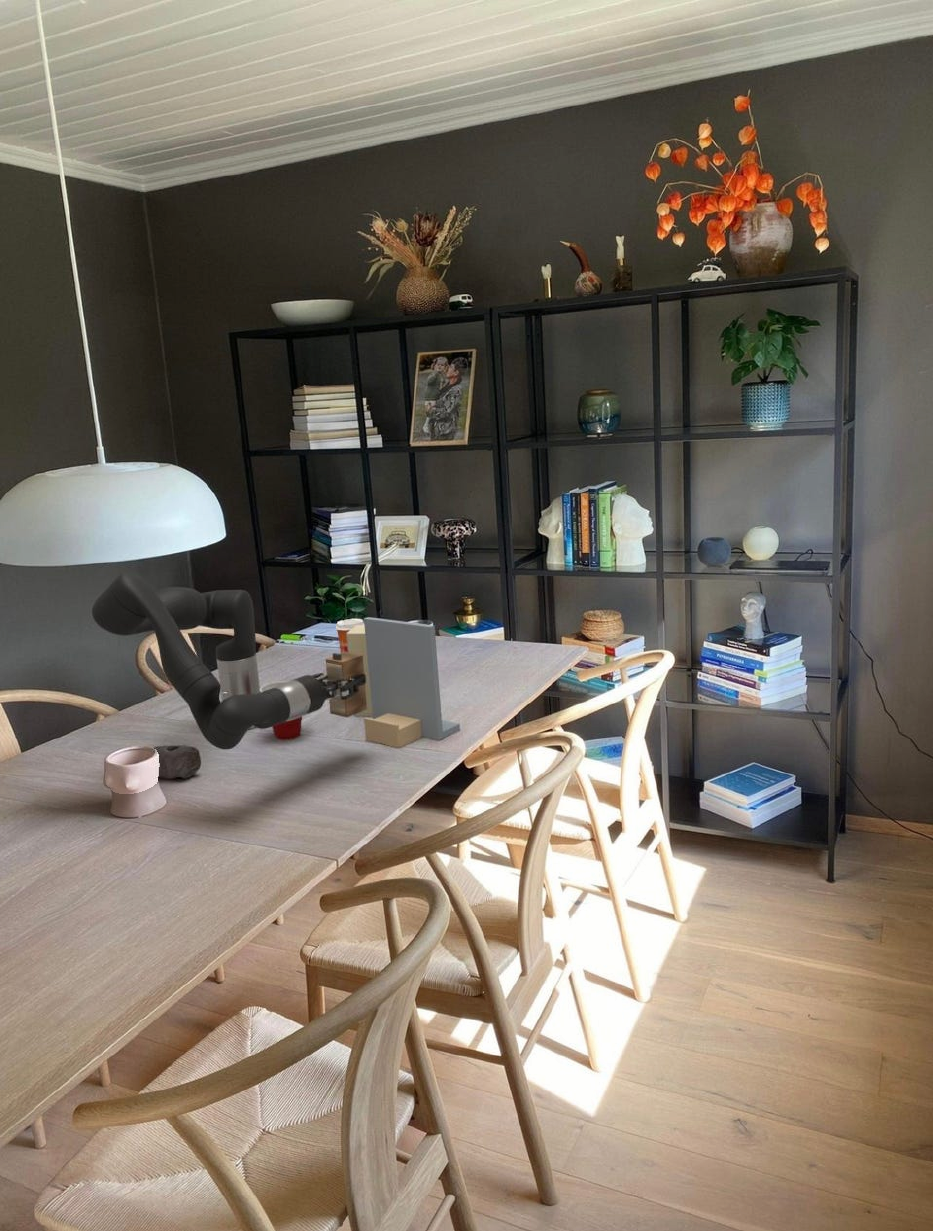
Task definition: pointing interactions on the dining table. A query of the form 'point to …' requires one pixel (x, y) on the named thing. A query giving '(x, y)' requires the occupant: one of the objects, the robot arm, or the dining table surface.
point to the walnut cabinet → (346, 668)
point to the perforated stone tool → (178, 761)
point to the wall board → (403, 683)
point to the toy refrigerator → (358, 646)
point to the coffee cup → (346, 631)
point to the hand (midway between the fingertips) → (354, 676)
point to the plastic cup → (289, 727)
